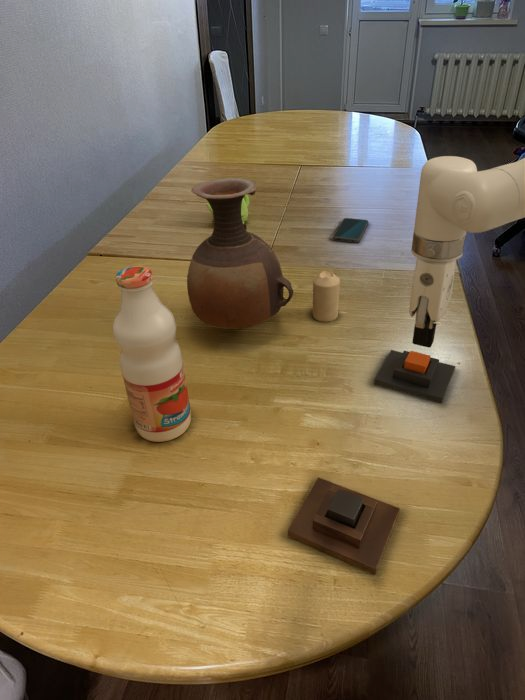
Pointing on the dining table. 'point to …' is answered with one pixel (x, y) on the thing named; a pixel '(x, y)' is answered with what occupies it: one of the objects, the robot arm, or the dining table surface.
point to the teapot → (243, 208)
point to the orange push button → (415, 377)
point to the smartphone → (350, 230)
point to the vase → (233, 264)
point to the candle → (325, 296)
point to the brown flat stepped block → (345, 527)
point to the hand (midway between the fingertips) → (422, 343)
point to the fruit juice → (150, 358)
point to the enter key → (417, 362)
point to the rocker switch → (345, 508)
